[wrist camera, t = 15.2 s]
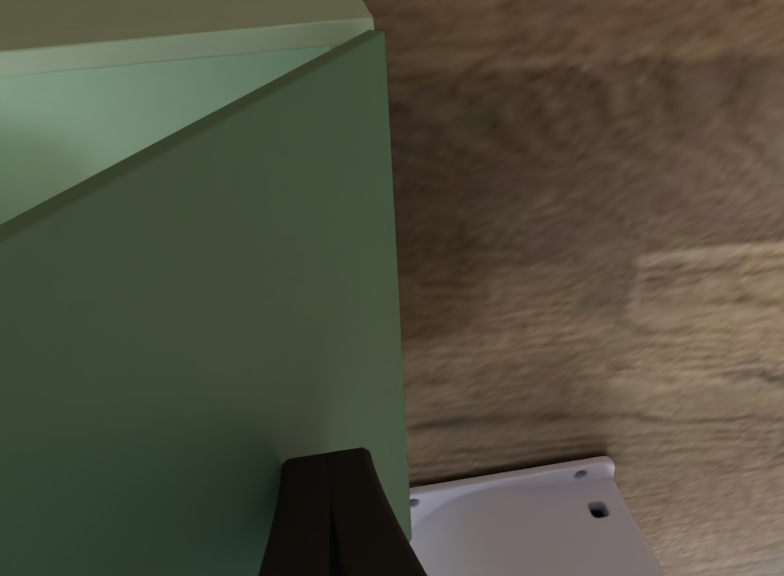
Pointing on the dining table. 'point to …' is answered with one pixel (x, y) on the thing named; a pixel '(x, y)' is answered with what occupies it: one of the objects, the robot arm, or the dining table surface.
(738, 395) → the dining table surface
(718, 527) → the dining table surface
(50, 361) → the flap
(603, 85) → the dining table surface
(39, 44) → the light green open box
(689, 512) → the dining table surface
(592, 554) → the robot arm
